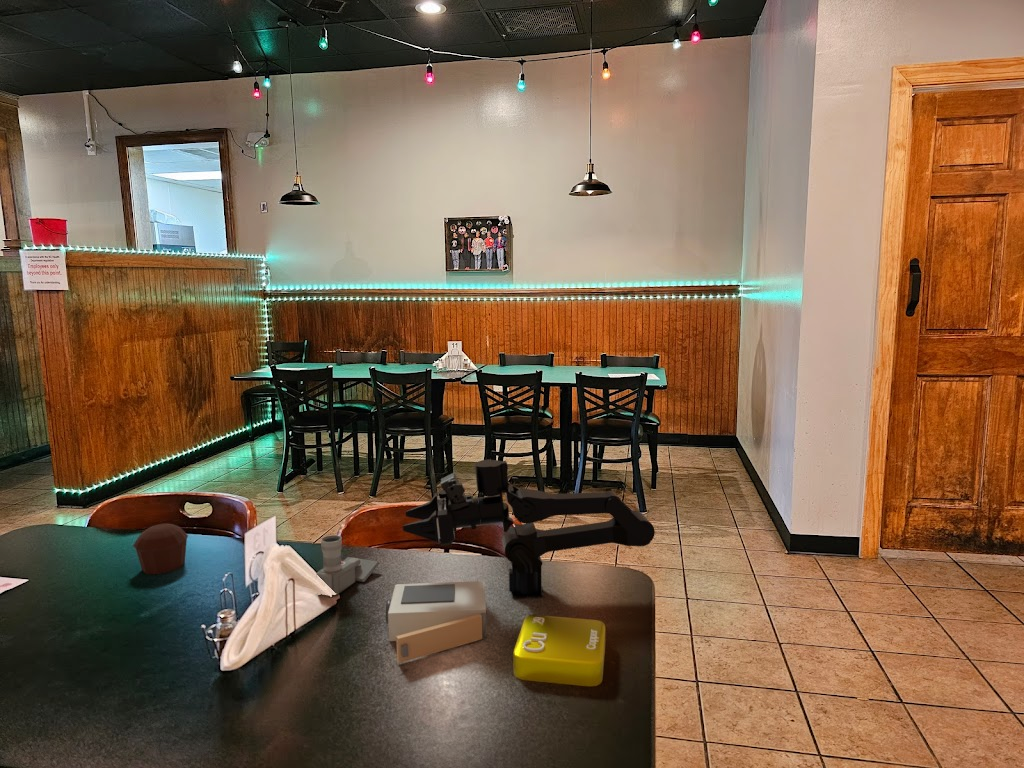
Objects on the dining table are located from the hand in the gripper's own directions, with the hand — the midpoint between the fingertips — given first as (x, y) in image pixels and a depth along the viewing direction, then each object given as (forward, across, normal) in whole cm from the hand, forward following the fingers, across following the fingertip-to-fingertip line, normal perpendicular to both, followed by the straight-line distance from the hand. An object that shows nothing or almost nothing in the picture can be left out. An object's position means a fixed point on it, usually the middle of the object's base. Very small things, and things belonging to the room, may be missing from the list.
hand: (404, 520), depth 135 cm
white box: (-5, +11, +18) cm, 22 cm away
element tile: (-27, +26, +21) cm, 42 cm away
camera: (+16, -10, +16) cm, 25 cm away
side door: (-6, +21, +18) cm, 28 cm away
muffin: (+60, -24, +12) cm, 66 cm away
